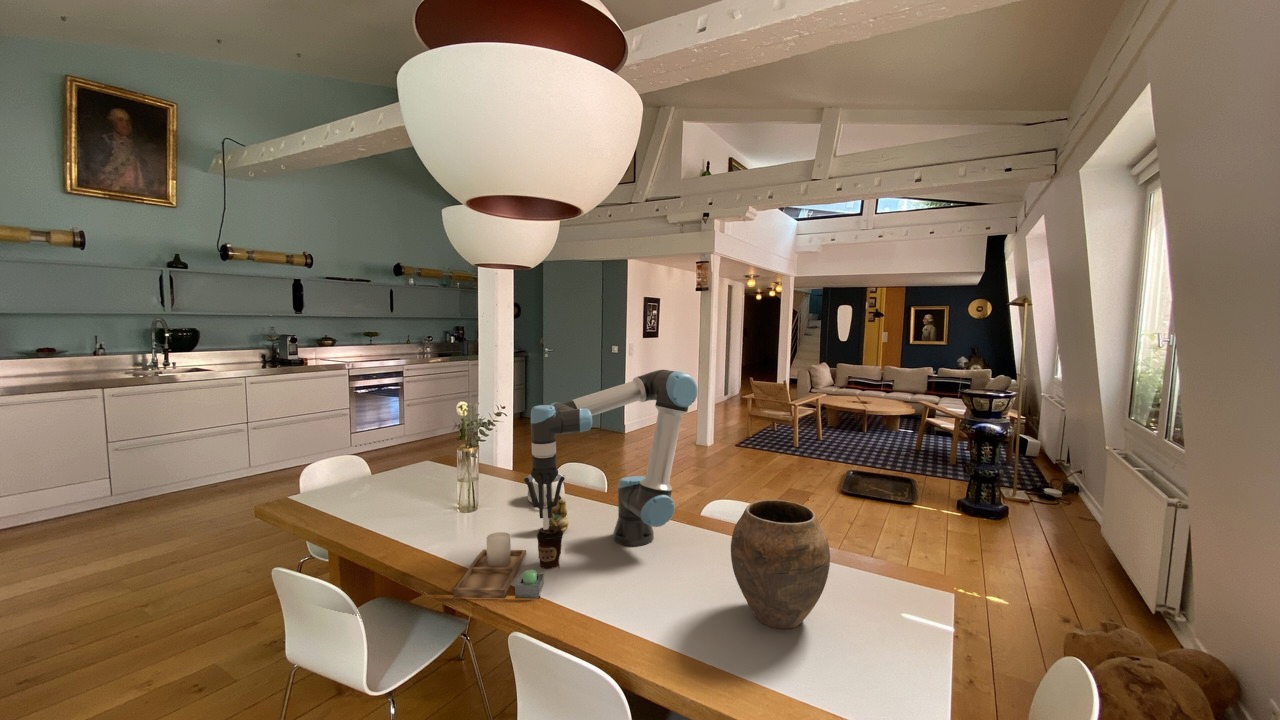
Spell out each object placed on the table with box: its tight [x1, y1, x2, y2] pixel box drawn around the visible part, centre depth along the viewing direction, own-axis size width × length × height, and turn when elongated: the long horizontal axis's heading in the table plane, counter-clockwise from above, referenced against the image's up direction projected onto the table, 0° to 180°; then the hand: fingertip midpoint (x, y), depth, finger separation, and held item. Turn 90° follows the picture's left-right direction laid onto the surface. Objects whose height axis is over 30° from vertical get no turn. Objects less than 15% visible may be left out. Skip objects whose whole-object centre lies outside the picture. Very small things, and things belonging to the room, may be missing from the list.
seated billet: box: [486, 531, 512, 568], centre depth 171 cm, size 8×8×9 cm
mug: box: [527, 476, 566, 506], centre depth 233 cm, size 21×17×10 cm
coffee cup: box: [536, 526, 564, 570], centre depth 170 cm, size 9×8×13 cm
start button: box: [522, 569, 538, 583], centre depth 154 cm, size 4×4×5 cm
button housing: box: [514, 573, 545, 600], centre depth 155 cm, size 7×7×4 cm
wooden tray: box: [453, 549, 527, 599], centre depth 165 cm, size 15×27×2 cm, turn 179°
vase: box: [730, 499, 831, 630], centre depth 142 cm, size 26×26×30 cm
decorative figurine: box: [545, 494, 569, 533], centre depth 201 cm, size 10×8×15 cm
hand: (546, 527), depth 165 cm, fingers closed
